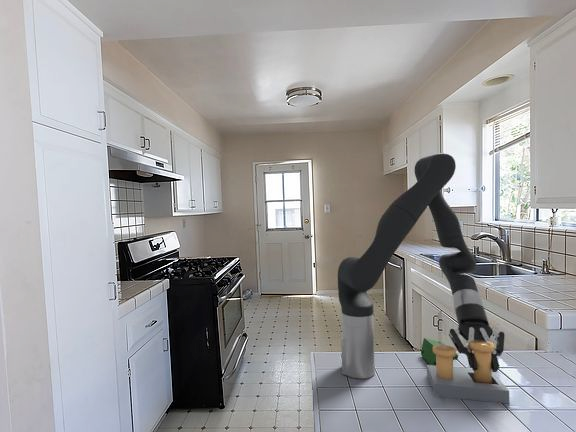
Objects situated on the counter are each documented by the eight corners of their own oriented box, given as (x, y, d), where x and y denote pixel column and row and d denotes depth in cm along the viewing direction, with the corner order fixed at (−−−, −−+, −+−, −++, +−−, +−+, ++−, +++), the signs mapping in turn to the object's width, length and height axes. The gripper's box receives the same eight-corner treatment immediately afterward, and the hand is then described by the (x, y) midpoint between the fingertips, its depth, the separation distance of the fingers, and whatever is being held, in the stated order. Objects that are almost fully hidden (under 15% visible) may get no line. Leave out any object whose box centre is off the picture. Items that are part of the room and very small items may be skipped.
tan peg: (474, 386, 82) (473, 346, 82) (467, 376, 87) (466, 338, 88) (499, 388, 81) (498, 348, 81) (490, 378, 86) (489, 340, 86)
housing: (435, 395, 81) (434, 355, 82) (427, 375, 92) (426, 340, 92) (509, 403, 78) (508, 361, 78) (492, 381, 88) (491, 344, 88)
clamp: (450, 383, 96) (462, 360, 93) (430, 378, 96) (442, 356, 93) (436, 352, 107) (447, 331, 104) (418, 348, 107) (429, 327, 104)
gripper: (444, 301, 93) (457, 362, 81) (500, 303, 90) (522, 366, 78) (440, 314, 98) (452, 373, 86) (493, 316, 95) (512, 378, 83)
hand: (485, 369), depth 82 cm, fingers closed on tan peg, 4 cm apart
